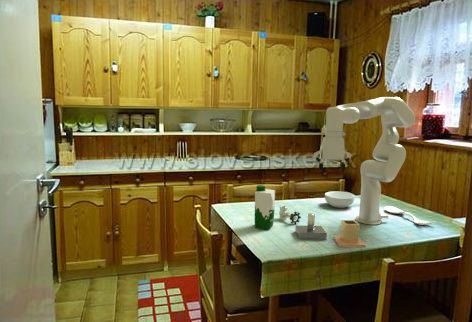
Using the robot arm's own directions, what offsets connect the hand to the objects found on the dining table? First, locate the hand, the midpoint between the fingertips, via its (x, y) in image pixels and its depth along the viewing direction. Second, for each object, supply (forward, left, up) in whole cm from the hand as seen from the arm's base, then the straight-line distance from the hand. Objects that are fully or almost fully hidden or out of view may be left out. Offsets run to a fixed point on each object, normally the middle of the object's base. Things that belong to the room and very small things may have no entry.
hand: (331, 171), depth 176 cm
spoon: (-47, -21, -29) cm, 59 cm away
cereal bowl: (-18, -43, -29) cm, 55 cm away
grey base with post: (+10, +7, -28) cm, 31 cm away
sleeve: (-5, +15, -27) cm, 32 cm away
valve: (+17, -14, -29) cm, 36 cm away
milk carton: (+30, -4, -28) cm, 42 cm away
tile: (-5, +15, -28) cm, 32 cm away
